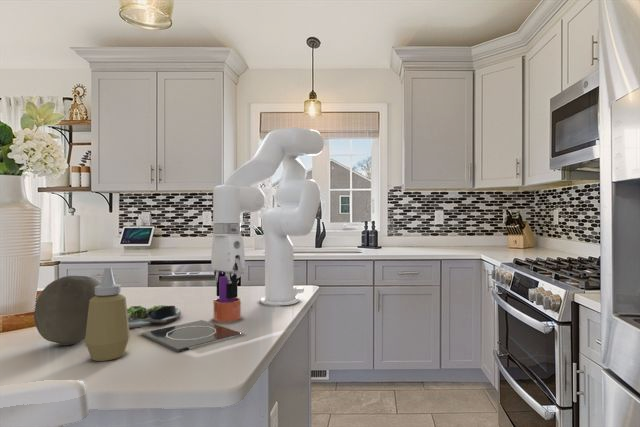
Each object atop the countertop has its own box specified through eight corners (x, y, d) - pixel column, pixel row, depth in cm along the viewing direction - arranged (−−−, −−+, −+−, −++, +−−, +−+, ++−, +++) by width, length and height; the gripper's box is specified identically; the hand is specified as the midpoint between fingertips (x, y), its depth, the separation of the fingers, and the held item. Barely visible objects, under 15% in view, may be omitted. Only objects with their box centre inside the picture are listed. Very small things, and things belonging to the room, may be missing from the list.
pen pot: (230, 315, 115) (230, 296, 115) (246, 319, 110) (246, 299, 110) (208, 320, 109) (208, 300, 109) (223, 325, 104) (223, 303, 104)
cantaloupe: (89, 351, 84) (89, 280, 84) (18, 353, 83) (18, 281, 83) (118, 332, 98) (118, 271, 98) (58, 334, 97) (58, 272, 97)
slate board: (201, 322, 107) (201, 319, 107) (241, 335, 95) (241, 332, 95) (141, 335, 96) (141, 332, 96) (178, 352, 83) (178, 348, 83)
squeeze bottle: (138, 352, 83) (138, 266, 83) (106, 366, 76) (106, 271, 76) (109, 348, 86) (109, 264, 86) (74, 361, 78) (75, 269, 78)
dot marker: (228, 314, 112) (228, 275, 112) (237, 316, 109) (237, 276, 110) (216, 316, 109) (216, 276, 109) (224, 319, 106) (224, 278, 107)
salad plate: (91, 333, 97) (91, 314, 97) (111, 315, 114) (111, 299, 115) (175, 327, 102) (175, 309, 102) (182, 311, 119) (182, 296, 119)
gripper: (256, 230, 107) (256, 298, 106) (221, 229, 118) (221, 291, 118) (233, 230, 101) (233, 303, 101) (198, 229, 113) (198, 294, 112)
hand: (226, 296), depth 109 cm, fingers closed on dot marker, 4 cm apart
